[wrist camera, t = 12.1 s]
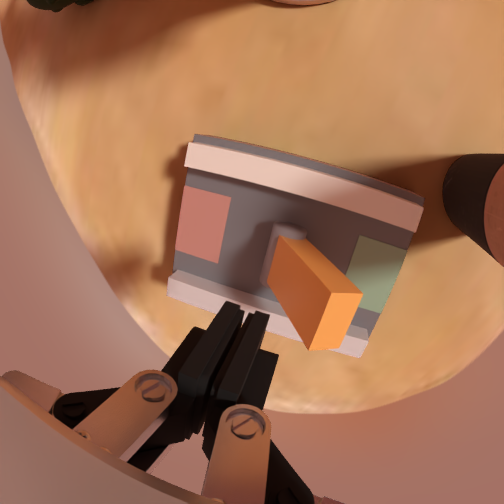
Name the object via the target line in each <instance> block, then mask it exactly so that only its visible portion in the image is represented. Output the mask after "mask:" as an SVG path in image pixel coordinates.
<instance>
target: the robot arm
mask: <svg viewBox="0 0 504 504" xmlns="http://www.w3.org/2000/svg"><path fill="white" fill-rule="evenodd" d="M273 1H276V2H280V3H286V4H295V5H311V4H321V3H326V2H331V1H334V0H273ZM240 307H241V306H240V305H238V304H235V303H232V302H229V301H225V303H224V304H223V306H222V307H221V309H220V310H219V312H218V313H217V315H216V316H215V318H214V319H213V321H212V322H211V324H210V325H209V327H208V328H207V330H204V329H201V328H198V327H196V326H195V327H193V328H192V330H191V331H190V332H189V334H188V335H187V336H186V338H185V339H184V340H183V342H182V343H181V345H180V346H179V347H178V349H177V350H176V351H175V353H174V354H173V356H172V357H171V358H170V360H169V361H168V362H167V364H166V365H165V367H164V368H163V369H162V371H158V370H145V371H142V372H139V373H137V374H136V375H134V376H133V377H132V378H131V379H130V380H129V381H127V382H126V383H125V384H124V385H123V386H122V387H119V388H111V389H103V390H94V391H86V392H75V393H69V394H63V393H62V392H61V390H60V389H58V388H55V387H53V386H50V385H48V384H46V383H44V382H41V381H39V380H37V379H35V378H32V377H30V376H28V375H26V374H24V373H22V372H19V371H9V372H6V373H5V374H4V375H3V376H0V504H345V503H342V502H339V501H336V500H333V499H331V498H328V497H325V496H324V497H323V498H321V497H318V496H316V495H313V494H312V492H311V491H310V489H309V488H308V487H307V486H306V484H305V483H304V482H303V481H302V479H301V478H300V477H299V476H298V474H297V473H296V472H295V471H294V469H293V468H292V467H291V465H290V464H289V463H288V461H287V460H286V459H285V458H284V456H283V455H282V454H281V452H280V451H279V450H278V448H277V447H276V446H275V444H274V443H273V442H272V440H271V439H270V437H271V436H270V435H271V422H270V420H269V418H268V416H267V415H266V414H265V413H264V412H263V411H262V410H263V407H264V404H265V400H266V397H267V394H268V391H269V387H270V384H271V381H272V377H273V374H274V371H275V367H276V364H277V360H278V357H279V355H278V354H275V353H271V352H268V351H265V350H262V349H260V346H261V343H262V340H263V337H264V334H265V330H266V327H267V324H268V321H269V317H270V315H269V314H266V313H263V312H260V311H257V310H256V311H255V313H254V314H253V313H250V312H249V313H248V315H247V317H246V319H245V321H244V323H243V325H242V321H243V317H244V313H245V311H244V310H241V309H240ZM241 325H242V327H241ZM204 422H205V424H204ZM203 424H204V429H203V434H202V436H203V437H204V440H203V445H202V449H203V451H204V453H205V455H206V457H207V458H208V460H209V463H208V467H207V471H206V475H205V480H204V484H203V488H202V492H201V495H198V494H195V493H193V492H190V491H187V490H185V489H182V488H180V487H178V486H175V485H172V484H170V483H168V482H166V481H164V480H161V479H159V478H157V477H155V476H152V475H150V474H151V472H152V471H153V470H154V469H155V468H156V467H157V466H158V464H159V463H160V462H161V461H162V460H163V458H164V457H165V456H166V455H167V454H168V452H169V451H170V450H171V448H172V447H173V445H174V443H178V442H182V441H184V440H185V438H186V439H188V440H189V439H190V437H191V435H192V433H195V434H198V433H199V432H200V430H201V428H202V426H203Z"/></svg>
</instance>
